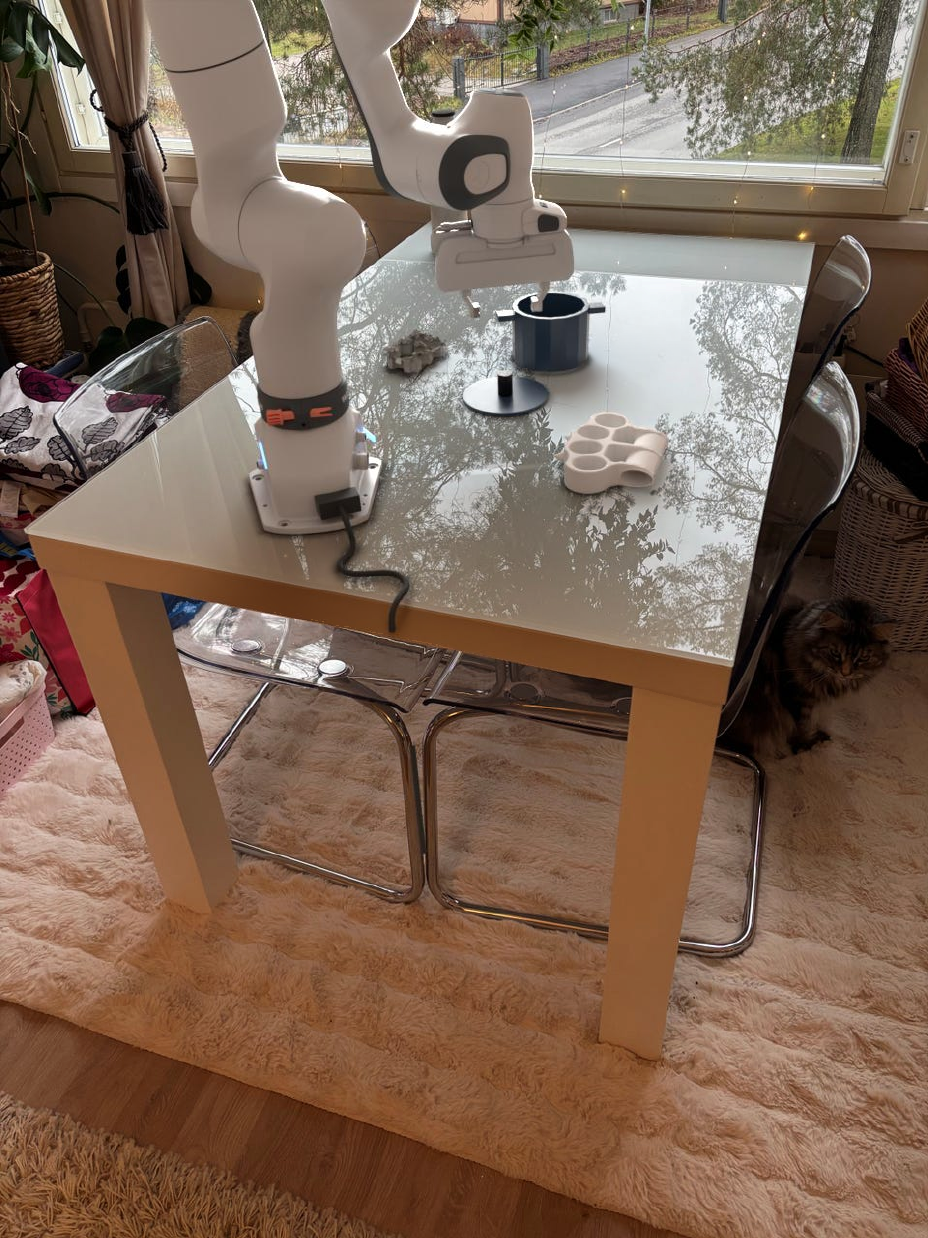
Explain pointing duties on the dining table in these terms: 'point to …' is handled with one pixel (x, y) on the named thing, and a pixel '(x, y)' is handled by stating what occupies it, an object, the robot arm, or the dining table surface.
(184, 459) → the dining table surface
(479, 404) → the lid
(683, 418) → the dining table surface
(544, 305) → the pot
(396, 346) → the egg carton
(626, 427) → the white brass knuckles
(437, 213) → the thermos bottle
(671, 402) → the dining table surface
